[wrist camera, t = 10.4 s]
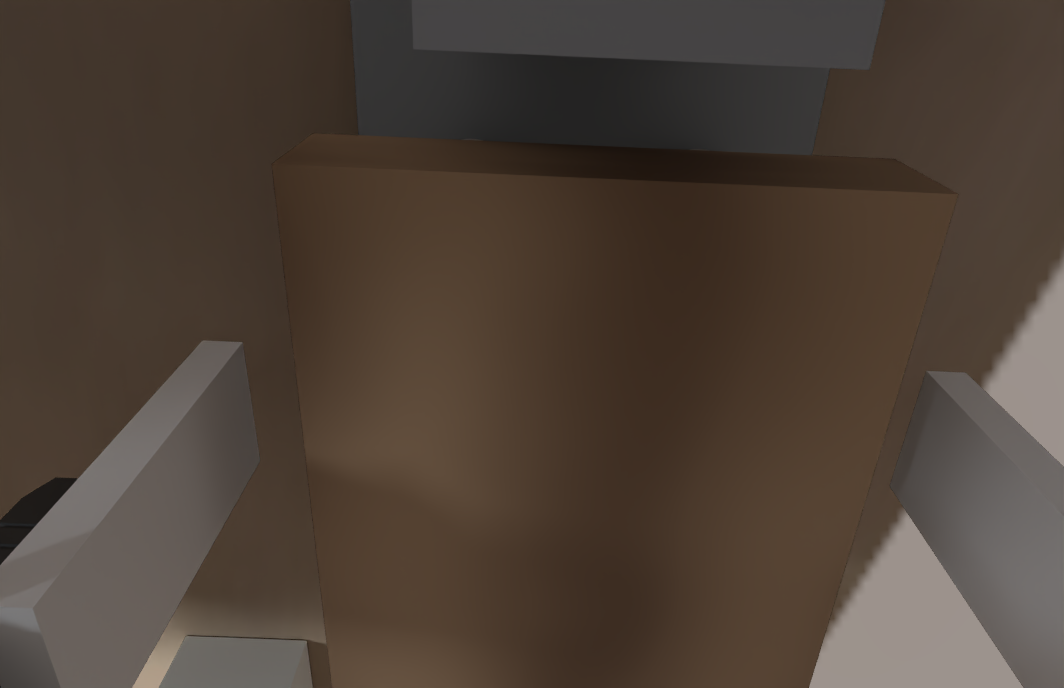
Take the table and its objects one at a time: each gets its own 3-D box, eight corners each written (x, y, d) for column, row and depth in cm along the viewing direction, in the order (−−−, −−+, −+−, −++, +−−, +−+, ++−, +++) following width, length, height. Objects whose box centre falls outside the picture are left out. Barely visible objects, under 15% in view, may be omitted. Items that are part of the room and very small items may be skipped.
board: (358, 642, 17) (335, 724, 15) (313, 132, 12) (271, 164, 10) (765, 657, 17) (792, 741, 15) (894, 158, 12) (958, 194, 10)
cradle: (391, 552, 23) (312, 863, 15) (356, -79, 16) (157, -123, 7) (714, 564, 23) (805, 881, 15) (838, -56, 16) (1152, -76, 8)
